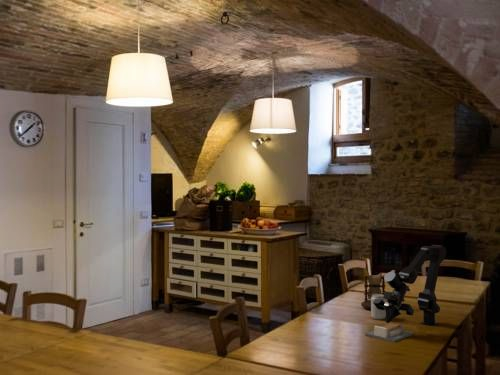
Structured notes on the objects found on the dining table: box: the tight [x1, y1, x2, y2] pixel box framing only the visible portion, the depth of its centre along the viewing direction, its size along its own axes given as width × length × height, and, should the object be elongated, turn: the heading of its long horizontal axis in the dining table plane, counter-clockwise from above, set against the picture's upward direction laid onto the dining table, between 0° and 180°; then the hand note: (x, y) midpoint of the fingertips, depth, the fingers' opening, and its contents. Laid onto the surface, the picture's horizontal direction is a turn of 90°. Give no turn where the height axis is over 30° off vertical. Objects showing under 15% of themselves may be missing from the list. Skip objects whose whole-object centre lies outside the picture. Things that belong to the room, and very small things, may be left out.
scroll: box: [361, 271, 386, 311], centre depth 302 cm, size 15×15×20 cm
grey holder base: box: [364, 321, 414, 343], centre depth 250 cm, size 17×15×5 cm
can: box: [370, 293, 387, 320], centre depth 281 cm, size 8×8×12 cm
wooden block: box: [380, 322, 400, 332], centre depth 250 cm, size 1×5×11 cm
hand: (386, 322), depth 249 cm, fingers closed
